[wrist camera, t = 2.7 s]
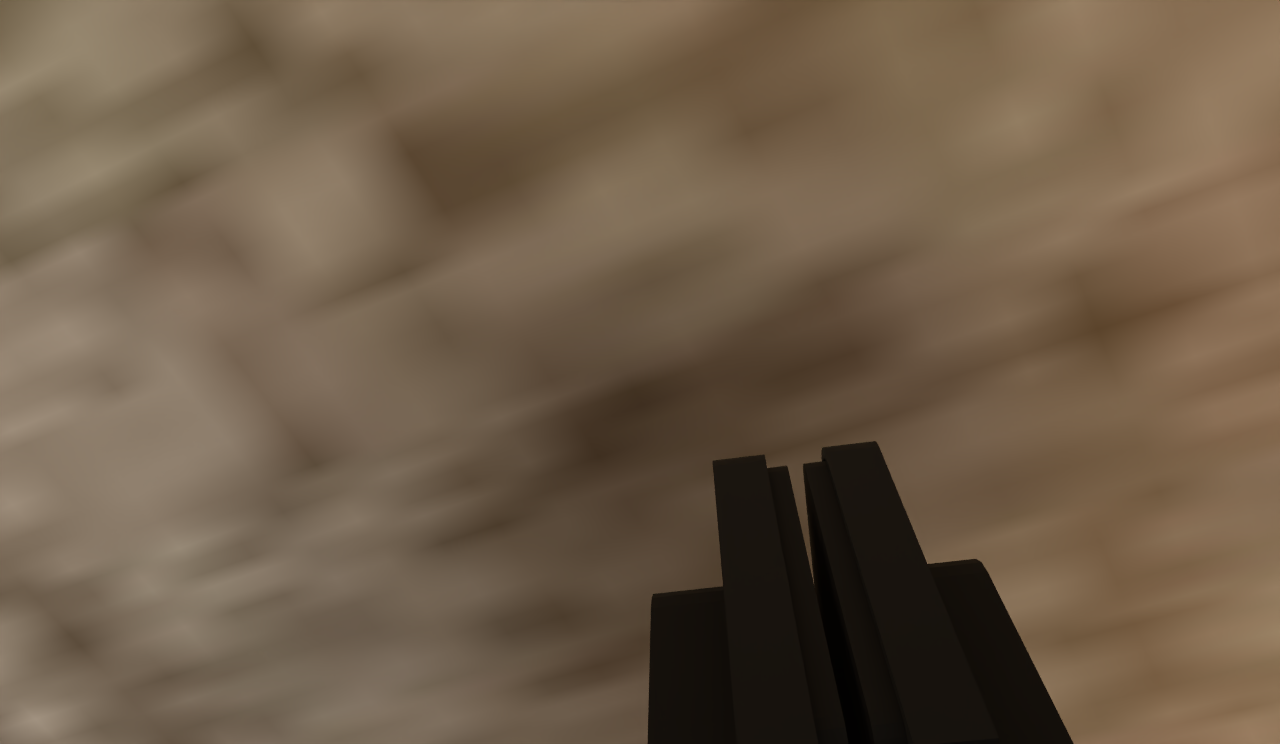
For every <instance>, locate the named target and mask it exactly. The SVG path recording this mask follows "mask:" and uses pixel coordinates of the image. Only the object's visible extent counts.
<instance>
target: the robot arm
mask: <svg viewBox="0 0 1280 744" xmlns="http://www.w3.org/2000/svg"><path fill="white" fill-rule="evenodd" d="M713 472H714V484H715V495H716V507H717V519H718V531H719V542H720V554H721V566H722V577H723V587H714V588H705V589H696V590H686V591H677V592H668V593H659V594H653V596H652V603H651V631H650V672H649V713H648V744H1073V742H1072V740H1071V738H1070V736H1069V734H1068V732H1067V730H1066V728H1065V726H1064V724H1063V722H1062V720H1061V718H1060V716H1059V714H1058V712H1057V710H1056V708H1055V706H1054V704H1053V702H1052V700H1051V698H1050V696H1049V694H1048V692H1047V690H1046V688H1045V686H1044V684H1043V682H1042V680H1041V678H1040V676H1039V674H1038V672H1037V670H1036V668H1035V666H1034V664H1033V662H1032V660H1031V658H1030V656H1029V654H1028V652H1027V650H1026V648H1025V646H1024V644H1023V642H1022V640H1021V638H1020V636H1019V634H1018V632H1017V630H1016V628H1015V626H1014V624H1013V622H1012V620H1011V618H1010V616H1009V614H1008V612H1007V610H1006V608H1005V606H1004V604H1003V602H1002V600H1001V598H1000V596H999V594H998V592H997V590H996V588H995V586H994V584H993V582H992V580H991V578H990V576H989V574H988V572H987V570H986V569H985V567H984V566H983V564H982V562H980V561H979V560H977V559H971V560H961V561H952V562H943V563H934V564H927V562H926V560H925V557H924V555H923V552H922V550H921V547H920V545H919V543H918V540H917V538H916V535H915V533H914V530H913V528H912V526H911V523H910V521H909V518H908V516H907V513H906V511H905V509H904V506H903V504H902V501H901V499H900V496H899V494H898V492H897V489H896V487H895V484H894V482H893V479H892V477H891V475H890V472H889V470H888V467H887V465H886V462H885V460H884V458H883V455H882V453H881V450H880V448H879V446H878V444H877V442H875V441H873V442H865V443H856V444H848V445H840V446H831V447H823V448H822V462H815V463H806V464H803V473H804V484H805V494H806V504H807V515H808V525H809V535H810V546H811V556H812V566H813V577H814V583H813V579H812V574H811V570H810V565H809V561H808V556H807V552H806V548H805V543H804V539H803V534H802V530H801V525H800V521H799V516H798V512H797V507H796V503H795V498H794V494H793V490H792V485H791V481H790V476H789V472H788V468H787V466H781V467H773V468H767V465H766V460H765V455H757V456H748V457H740V458H732V459H724V460H715V461H713ZM814 587H815V588H814Z"/></svg>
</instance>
